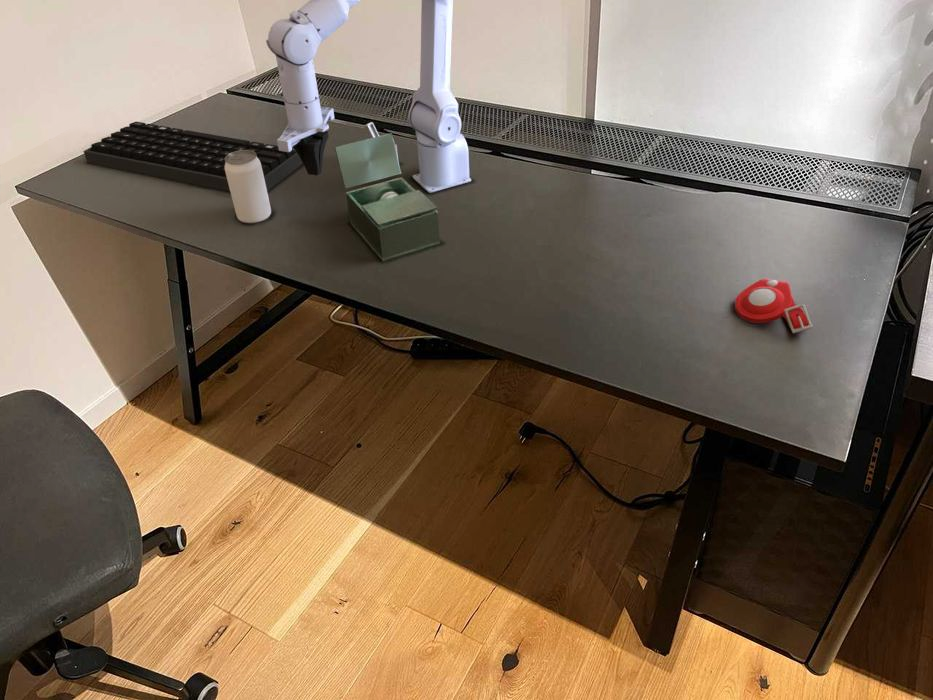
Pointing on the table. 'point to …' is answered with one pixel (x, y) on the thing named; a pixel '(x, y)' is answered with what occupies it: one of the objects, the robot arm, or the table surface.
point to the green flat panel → (368, 160)
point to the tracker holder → (771, 305)
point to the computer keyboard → (185, 155)
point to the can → (247, 186)
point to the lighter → (374, 132)
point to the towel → (389, 195)
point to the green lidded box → (393, 218)
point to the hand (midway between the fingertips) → (314, 173)
